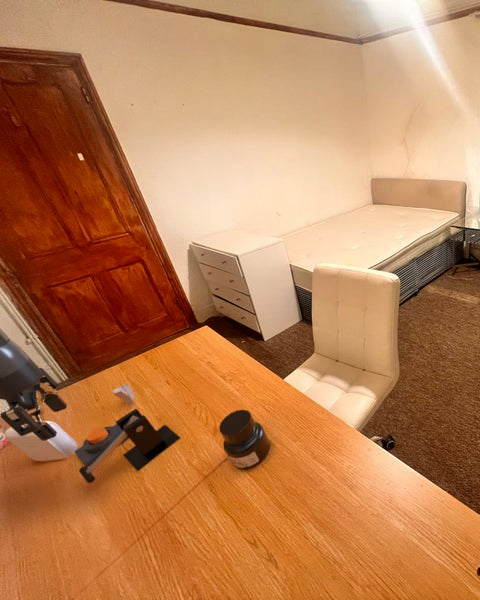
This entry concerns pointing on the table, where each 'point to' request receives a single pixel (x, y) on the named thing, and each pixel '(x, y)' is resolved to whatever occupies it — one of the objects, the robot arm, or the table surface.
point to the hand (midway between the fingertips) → (56, 422)
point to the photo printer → (44, 444)
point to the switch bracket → (145, 439)
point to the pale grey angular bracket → (125, 393)
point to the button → (97, 436)
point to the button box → (98, 446)
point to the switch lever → (104, 454)
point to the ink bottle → (244, 439)
